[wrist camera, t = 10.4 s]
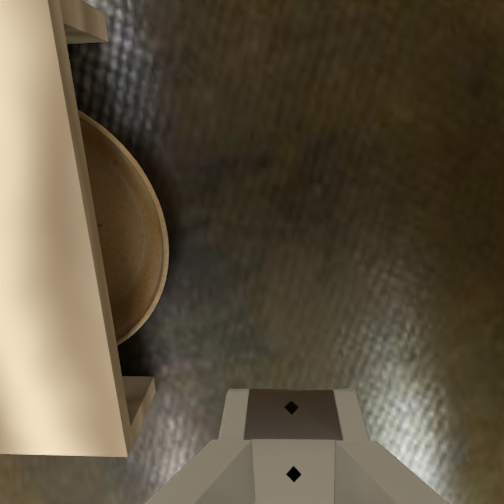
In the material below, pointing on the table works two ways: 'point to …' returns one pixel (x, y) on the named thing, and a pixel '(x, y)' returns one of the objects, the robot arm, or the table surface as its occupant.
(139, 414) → the wooden step block
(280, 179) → the table surface
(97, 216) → the plant saucer
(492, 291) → the table surface
